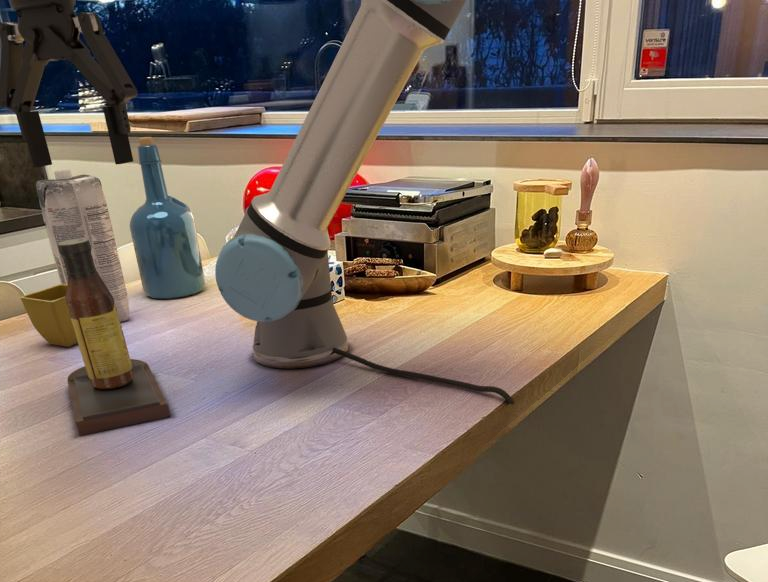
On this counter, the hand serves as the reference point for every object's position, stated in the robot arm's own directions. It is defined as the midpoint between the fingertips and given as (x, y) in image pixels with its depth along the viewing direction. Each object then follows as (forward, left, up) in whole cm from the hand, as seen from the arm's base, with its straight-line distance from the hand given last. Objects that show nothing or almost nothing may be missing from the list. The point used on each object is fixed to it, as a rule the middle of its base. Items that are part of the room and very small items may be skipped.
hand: (83, 164), depth 103 cm
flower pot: (+27, -15, -31) cm, 44 cm away
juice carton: (+30, -27, -31) cm, 51 cm away
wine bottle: (+29, -49, -31) cm, 65 cm away
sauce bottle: (-1, +5, -29) cm, 29 cm away
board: (0, +5, -31) cm, 31 cm away
